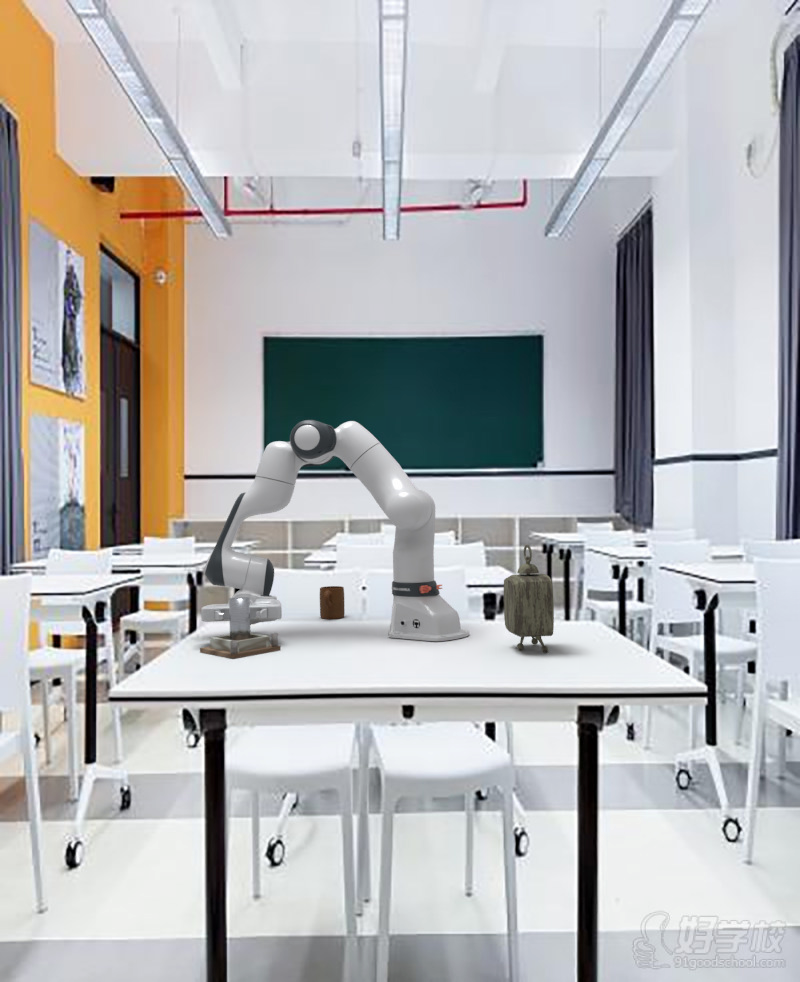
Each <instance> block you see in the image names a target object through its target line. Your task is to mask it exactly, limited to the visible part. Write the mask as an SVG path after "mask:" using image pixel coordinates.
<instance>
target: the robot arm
mask: <svg viewBox="0 0 800 982" xmlns="http://www.w3.org/2000/svg"><path fill="white" fill-rule="evenodd" d="M336 457H337V458H338V459H340V460H341V461H342V462H343V463H344V464H345V465H346V466H347V468H348V469H349V470H350V471H351V473H353V474H354V476H355V477H356V478H357V479H358V480H359V481H360V483H361V484H362V485H363V486H364V487H365V488H366V490H367V491H368V492H369V493H370V495H371V496H372V497H373V499H374V501H375V502H376V503H377V505H378V507H380V509H381V510H382V512H383V513H384V514H385V515H386V517H387V519H389V521H390V522H391V524H392V525H394V527H395V534H394V543H393V550H392V568H393V569H392V572H393V573H392V575H393V577H392V578H393V581H392V582H391V595H392V597H393V600H392V601H393V602H392V606H391V607H392V609H391V619H390V626H389V630H388V637H389V638H393V639H406V640H413V641H414V640H416V641H428V642H445V641H452V640H458V639H461V638H463V639H464V638H466V637H468V636H470V631H469V630H466V629H465V630H464V629H461V621H460V615H459V613H458V611H457V610H456V609H455V608H454V607H452V606H451V605H450V604H449V603H448V602H447V600H445V599H444V598H443V597H442V596H441V593H440V591H439V590H442V589H443V584H437V582H436V580H435V569H434V568H435V564H434V563H435V560H434V558H435V556H434V555H435V554H434V553H435V551H434V549H435V547H434V546H435V530H436V504H435V501H434V499H433V498H432V496H431V495H430V494H429V493H428V492H426V491H425V490H422V489H419V488H417V487H416V485H415V484H414V483H413V481H412V480H411V478H410V477H409V476H408V474H407V473H406V472H405V471H404V469H403V468H402V466H401V465H400V463H399V462H398V461H397V460H396V459H395V457H394V456H392V455H391V453H390V452H389V451H388V450H387V448H385V446H384V445H383V444H382V443H381V441H380V440H378V439H377V438H376V437H375V436H374V434H372V433H371V432H370V431H369V430H368V429H366V428H365V427H364V426H363V425H362V424H361V423H359V422H357V421H355V420H349V421H346V422H343V423H341V424H339V426H337V427H336V428H334V427H333V426H332V425H330V424H326V423H325V422H321V421H319V420H315V419H306V420H302V421H299V422H298V423H296V425H295V426H294V427H293V428H292V429H291V431H290V435H289V441H281V440H278V441H277V440H276V441H272V442H270V443H269V444H267V445H266V447H265V449H264V450H263V454H262V455H261V458H260V460H259V463H258V467H257V470H256V473H255V477H254V480H253V483H252V485H251V486H250V488H249V489H248V490H247V491H245V492H241V493H240V494H239V495H238V496H237V498H236V499H235V502H234V503H233V506H232V508H231V510H230V512H229V514H228V516H227V519H226V521H225V523H224V526H223V528H222V530H221V533H220V534H219V537H218V540H217V542H216V544H215V546H214V548H213V550H212V552H211V553H210V554H209V556H208V558H207V561H206V562H205V567H204V575H205V577H206V579H207V580H208V582H209V583H210V584H212V585H213V586H218V587H219V586H220V587H229V588H232V589H233V588H234V589H239V590H238V591H236V592H235V593H233V594H232V596H231V598H235V597H249V598H250V626H251V625H256V624H259V623H266V622H273V621H277V620H281V619H282V615H283V614H282V612H283V611H282V602H281V601H280V600H279V599H278V598H277V597H278V596H276V595H272V594H271V591H272V588H273V585H274V580H275V567H274V566H273V563H272V562H271V560H270V559H269V558H266V557H262V556H257V555H253V554H252V555H251V554H247V553H242V552H238V551H234V550H232V546H233V544H234V541H235V538H236V536H237V534H238V531H239V529H240V528H241V525H242V523H243V522H244V521H245V520H247V519H248V518H251V517H253V516H258V515H259V516H260V515H265V514H272V513H276V512H279V511H281V510H284V508H286V507H287V506H288V505H289V504H290V502H291V499H292V497H293V493H294V490H295V486H296V484H297V483H296V482H297V479H298V474H299V472H300V469H301V468H302V467H304V468H306V467H308V468H309V467H318V466H323V465H326V464H329V462H332V460H333V459H334V458H336ZM270 594H271V595H270ZM200 609H201V610H200V617H201V621H202V622H205V623H208V622H210V623H211V622H213V623H214V622H230V616H229V601H228V602H227V603H215V604H213V603H212V604H208V605H204V606H202V607H201V608H200Z"/></svg>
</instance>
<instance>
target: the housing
mask: <svg viewBox="0 0 800 982" xmlns="http://www.w3.org/2000/svg"><path fill="white" fill-rule="evenodd" d="M250 635H251V638H250V639H244V640H238V641H237V640H230V634H224V635H220V636H219V635H218V636H213V637H210V638H209V643H210V644H209V646H206V647H200V648H199V653H202V654H208V655H213V656H217V657H221V658H228V659H232V660H236V659H239V658H245V657H250V656H257V655H260V654H261V655H262V654H267V653H272V652H278V651H281V645H279V637H278V635H279V633H277V632H276V633H275V632H274V633H271V634H270V635H271V636H270V635H265V634H261V633H260V634H259V633H252V632H250Z"/></svg>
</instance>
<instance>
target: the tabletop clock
mask: <svg viewBox="0 0 800 982" xmlns="http://www.w3.org/2000/svg"><path fill="white" fill-rule="evenodd" d="M531 548H532V547H531V546H530V545H529V544H525V545H524V546H523V557H524V558H523V559H524V561H525V563H523V564H521V565H520V566H519V568H518V569H517V574H511V575H510V576H507V577H506V578H504V579H503V615H504V626H505V628H506V630H507V631H508V632H509V633H511V634H513V635H515V636H517V637H519V638H520V640H519V641H520V642H519V643H517V645H516V648H517V649H518V650H520V651H523V649H524V647H525V645H524V639H525V638H527V637H531V638H532V639H531V641H530V642H531V644H532V645H535V646H536V645H538V642H539V644H540V646H541V652H542V653H543V654H545V653H548V652H549V646H547V645H545V644H544V641H543V639H542V637H551V636H553V635H554V630H555V629H554V628H555V626H554V624H555V623H554V622H555V619H554V616H555V614H554V613H555V609H554V606H555V605H554V590H553V581H552V579H551V577H550V576H549V575H547V574H546V573H540V571H539V569H538V567H537V566H536V565H535V564H532V563H531V562H532V557H533V556H532V554H533V553H532V549H531ZM527 549H528V552H529V556H528V555H527Z"/></svg>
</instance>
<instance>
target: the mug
mask: <svg viewBox="0 0 800 982" xmlns="http://www.w3.org/2000/svg"><path fill="white" fill-rule="evenodd" d="M319 613H320V614H319V616H320V618H321V619H323V620H339V619H343V618H345V588H344V586H340V585H336V586H335V585H334V586H333V585H330V586H328V585H327V586H321V587H319Z"/></svg>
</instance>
